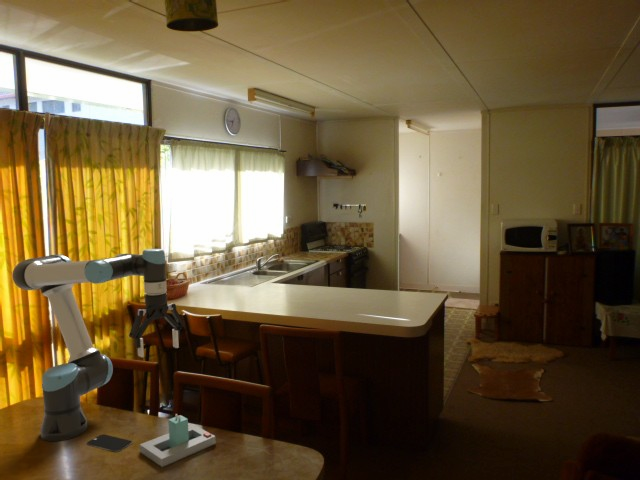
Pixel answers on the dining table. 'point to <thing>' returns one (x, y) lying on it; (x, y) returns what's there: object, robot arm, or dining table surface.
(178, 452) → the grey slotted tray
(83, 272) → the robot arm
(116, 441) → the smartphone
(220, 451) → the dining table surface
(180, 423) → the block
